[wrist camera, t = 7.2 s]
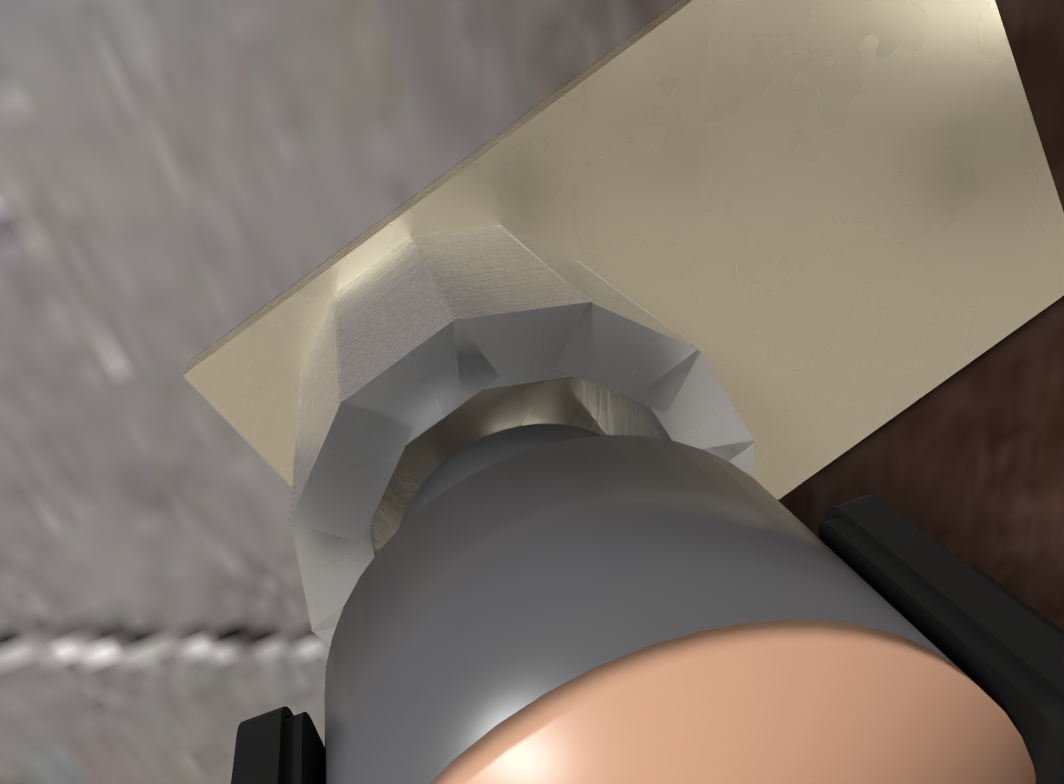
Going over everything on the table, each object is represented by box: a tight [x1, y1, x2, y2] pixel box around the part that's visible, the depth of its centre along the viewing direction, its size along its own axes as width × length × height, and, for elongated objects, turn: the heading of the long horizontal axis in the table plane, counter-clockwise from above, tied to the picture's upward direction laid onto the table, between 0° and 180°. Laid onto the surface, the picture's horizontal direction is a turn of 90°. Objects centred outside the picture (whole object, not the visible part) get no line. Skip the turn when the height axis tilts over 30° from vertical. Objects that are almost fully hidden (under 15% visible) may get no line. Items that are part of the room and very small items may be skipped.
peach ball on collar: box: [325, 423, 1036, 784], centre depth 11 cm, size 7×7×7 cm
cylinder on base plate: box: [183, 0, 1064, 647], centre depth 18 cm, size 21×13×8 cm, turn 124°
